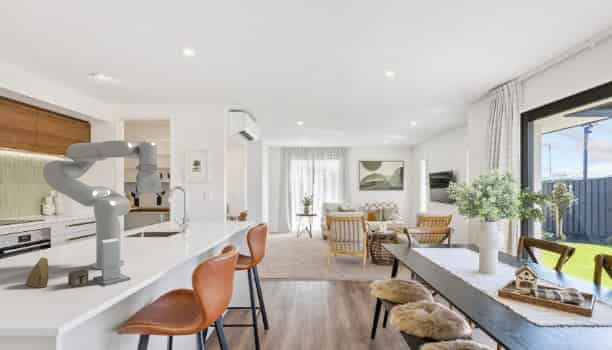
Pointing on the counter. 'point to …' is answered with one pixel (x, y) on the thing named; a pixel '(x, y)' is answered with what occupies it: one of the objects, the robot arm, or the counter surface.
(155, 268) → the counter surface
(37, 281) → the rock
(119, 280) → the slate mat
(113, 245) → the skincare box
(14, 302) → the counter surface
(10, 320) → the counter surface
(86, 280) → the walnut letter cube
